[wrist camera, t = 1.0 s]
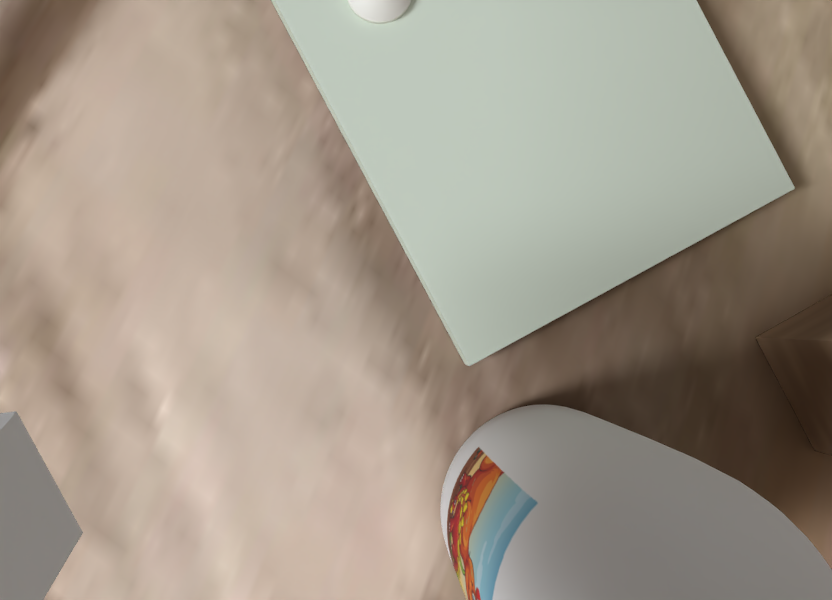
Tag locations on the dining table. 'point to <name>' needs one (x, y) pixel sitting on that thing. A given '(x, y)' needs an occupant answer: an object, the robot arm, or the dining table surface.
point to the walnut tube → (805, 368)
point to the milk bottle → (612, 519)
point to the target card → (536, 143)
